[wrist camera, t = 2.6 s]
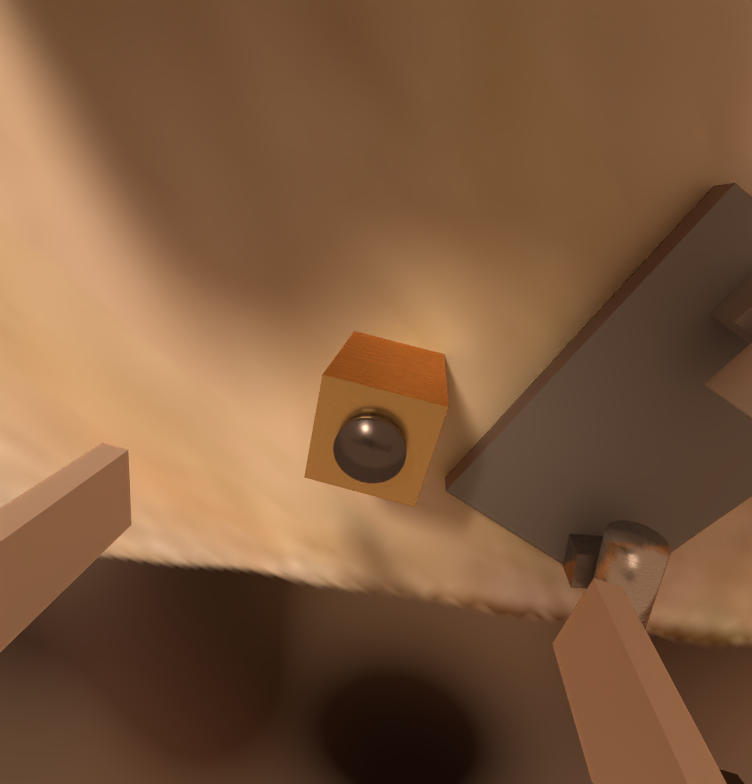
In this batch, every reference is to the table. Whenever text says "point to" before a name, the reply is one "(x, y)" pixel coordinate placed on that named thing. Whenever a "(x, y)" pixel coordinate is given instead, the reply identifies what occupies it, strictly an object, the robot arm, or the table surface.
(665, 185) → the table surface
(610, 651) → the robot arm
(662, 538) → the shaft
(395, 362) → the orange rectangular block
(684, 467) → the bolted mounting plate
